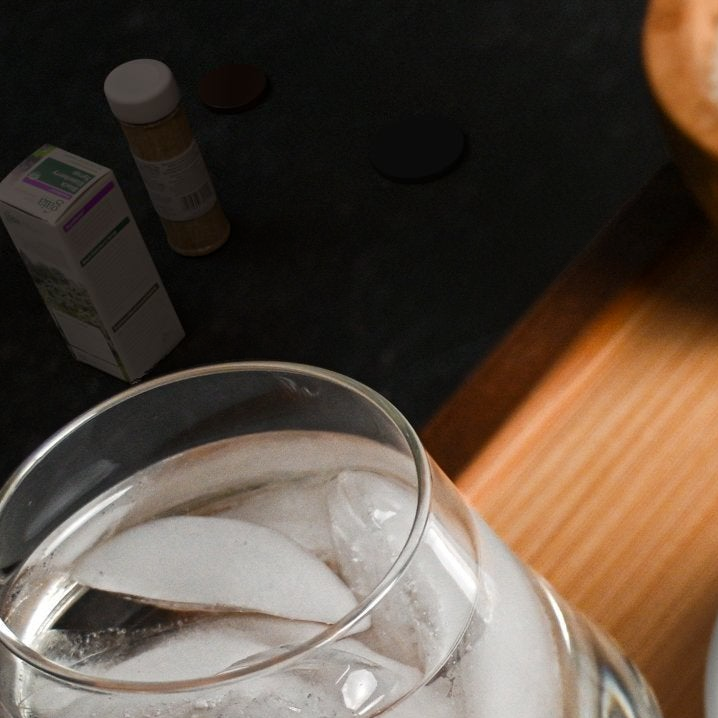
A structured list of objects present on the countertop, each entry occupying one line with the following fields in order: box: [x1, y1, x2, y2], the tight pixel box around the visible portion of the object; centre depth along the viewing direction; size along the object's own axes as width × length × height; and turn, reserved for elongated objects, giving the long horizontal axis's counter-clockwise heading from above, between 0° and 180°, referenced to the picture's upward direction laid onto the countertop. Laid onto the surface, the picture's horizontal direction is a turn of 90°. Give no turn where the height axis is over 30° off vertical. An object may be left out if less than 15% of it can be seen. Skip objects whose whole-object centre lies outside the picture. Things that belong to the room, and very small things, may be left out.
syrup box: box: [0, 143, 186, 386], centre depth 126 cm, size 6×6×14 cm
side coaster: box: [368, 113, 467, 185], centre depth 141 cm, size 7×7×1 cm
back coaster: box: [197, 62, 269, 115], centre depth 146 cm, size 5×5×1 cm
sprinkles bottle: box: [103, 58, 231, 258], centre depth 132 cm, size 5×5×14 cm
